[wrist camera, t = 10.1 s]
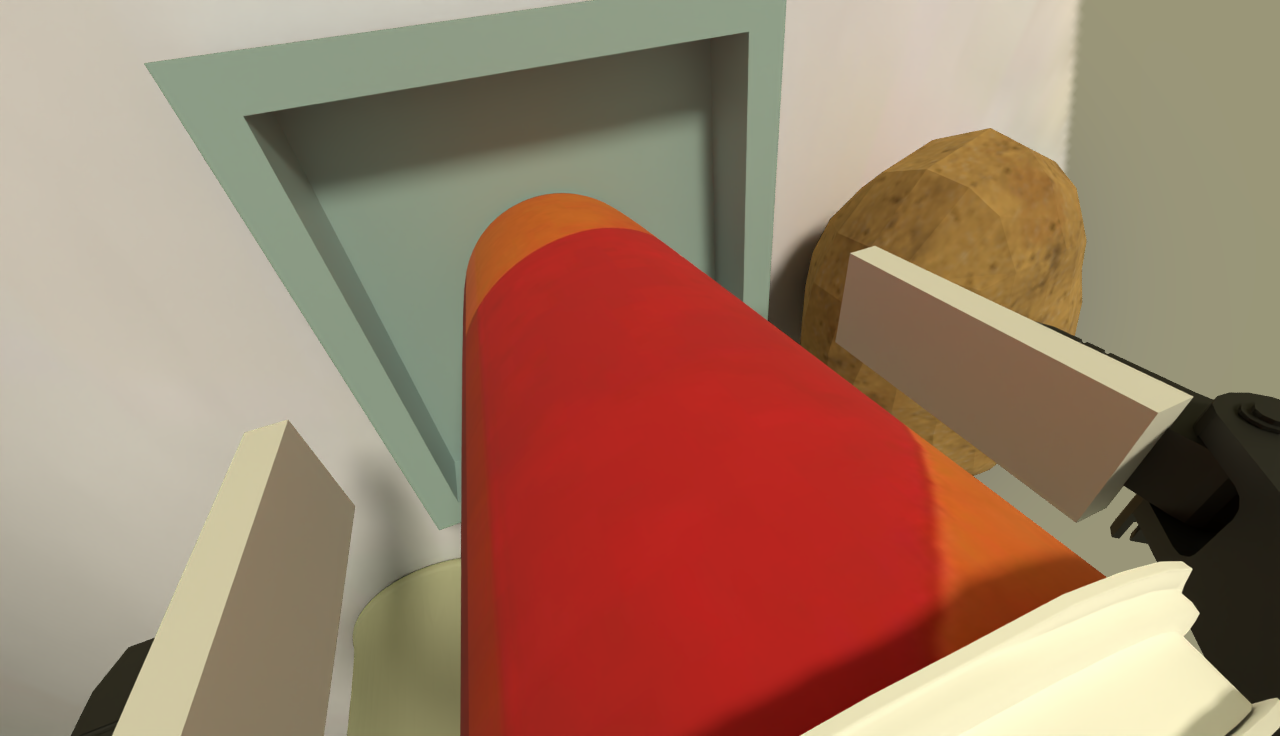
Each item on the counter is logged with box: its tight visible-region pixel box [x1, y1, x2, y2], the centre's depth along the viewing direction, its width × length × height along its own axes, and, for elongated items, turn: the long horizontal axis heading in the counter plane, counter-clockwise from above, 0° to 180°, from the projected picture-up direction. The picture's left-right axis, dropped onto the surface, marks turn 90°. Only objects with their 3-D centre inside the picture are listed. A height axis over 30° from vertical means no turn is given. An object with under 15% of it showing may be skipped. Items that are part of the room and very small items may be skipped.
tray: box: [144, 0, 786, 530], centre depth 15 cm, size 14×13×3 cm
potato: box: [800, 128, 1086, 476], centre depth 18 cm, size 10×14×8 cm
